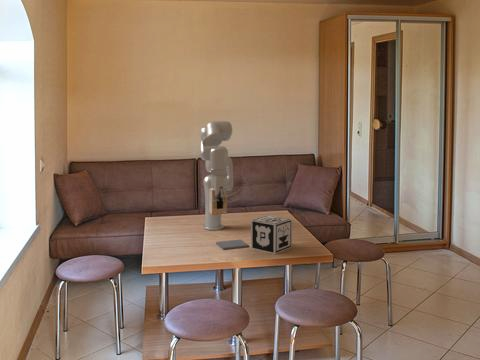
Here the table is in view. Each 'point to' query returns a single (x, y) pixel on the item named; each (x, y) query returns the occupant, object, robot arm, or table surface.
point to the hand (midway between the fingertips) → (218, 207)
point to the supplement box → (213, 203)
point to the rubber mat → (232, 244)
